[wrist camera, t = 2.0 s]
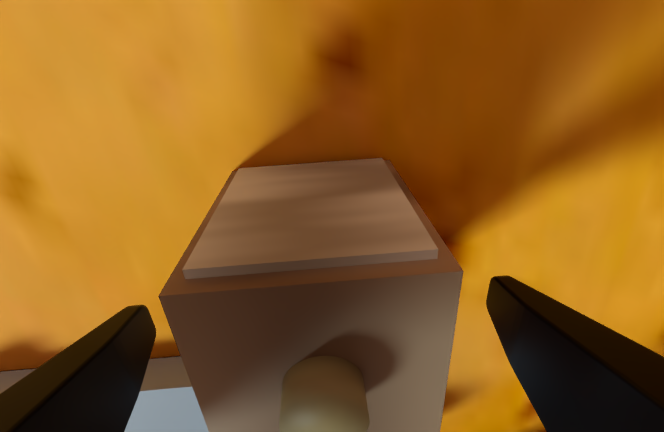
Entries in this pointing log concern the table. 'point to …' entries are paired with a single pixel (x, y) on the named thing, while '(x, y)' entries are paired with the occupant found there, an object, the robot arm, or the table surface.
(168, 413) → the grey slotted rack
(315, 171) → the cabinet block
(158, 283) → the table surface
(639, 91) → the table surface
